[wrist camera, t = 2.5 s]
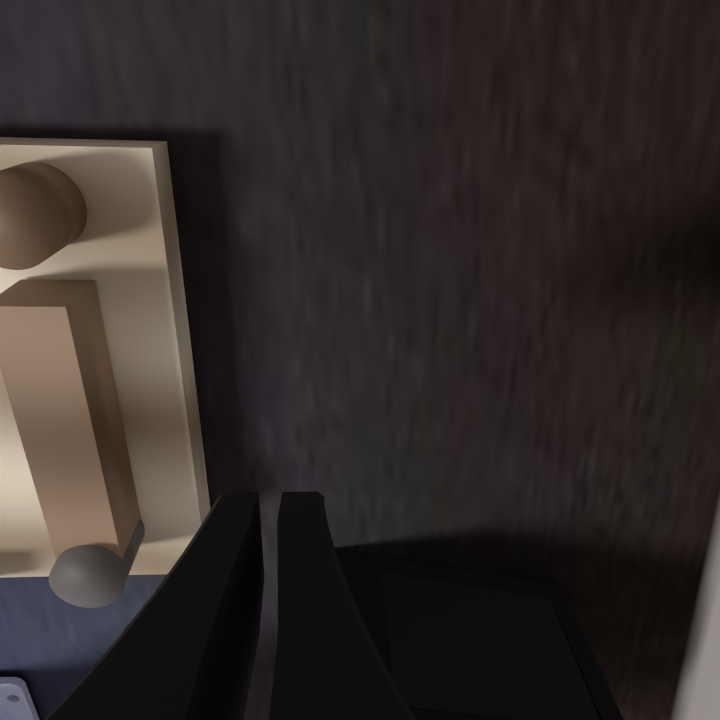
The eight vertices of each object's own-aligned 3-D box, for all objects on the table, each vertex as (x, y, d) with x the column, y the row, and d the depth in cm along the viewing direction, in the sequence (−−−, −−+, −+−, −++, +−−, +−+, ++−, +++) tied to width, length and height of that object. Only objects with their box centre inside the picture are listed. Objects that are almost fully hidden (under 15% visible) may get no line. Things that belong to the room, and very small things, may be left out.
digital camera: (301, 633, 25) (292, 817, 19) (329, 546, 23) (330, 722, 17) (515, 662, 27) (570, 839, 21) (562, 583, 25) (640, 756, 19)
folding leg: (149, 548, 20) (128, 607, 18) (86, 549, 20) (57, 608, 18) (98, 279, 16) (61, 314, 14) (17, 279, 16) (-34, 314, 14)
